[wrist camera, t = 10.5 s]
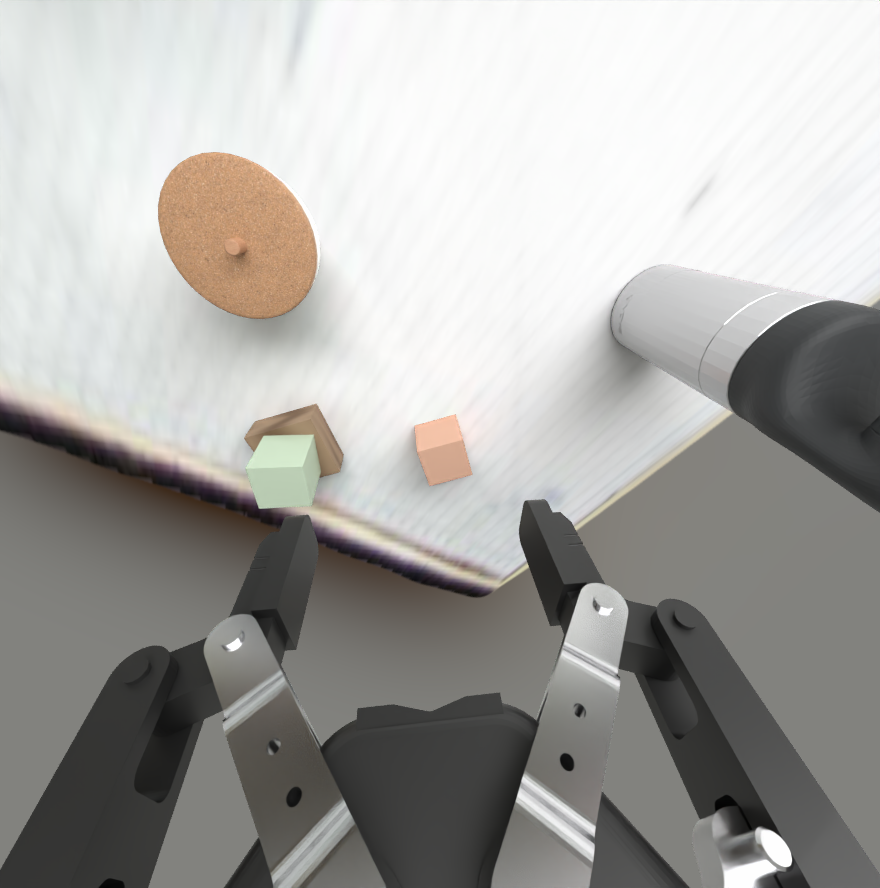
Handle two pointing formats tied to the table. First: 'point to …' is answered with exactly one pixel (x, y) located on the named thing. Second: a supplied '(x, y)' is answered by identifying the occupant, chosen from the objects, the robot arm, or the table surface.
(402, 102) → the table surface
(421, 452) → the terracotta block
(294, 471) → the sage block
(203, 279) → the lidded jar
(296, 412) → the walnut base
